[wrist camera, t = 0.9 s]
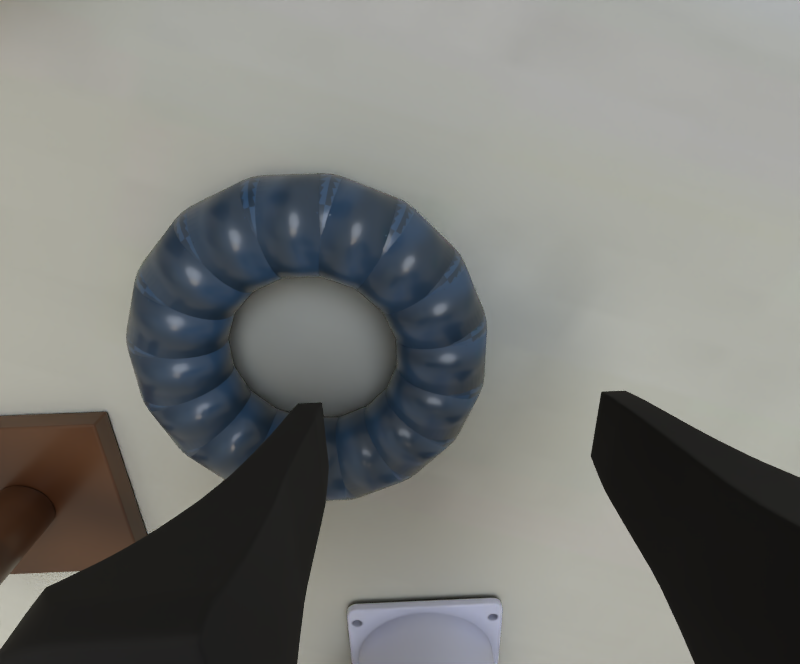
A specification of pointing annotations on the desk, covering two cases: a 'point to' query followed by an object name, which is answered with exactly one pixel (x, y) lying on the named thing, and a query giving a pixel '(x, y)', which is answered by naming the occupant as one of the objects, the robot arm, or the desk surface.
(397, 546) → the desk surface
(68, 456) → the peg stand
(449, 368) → the ring
